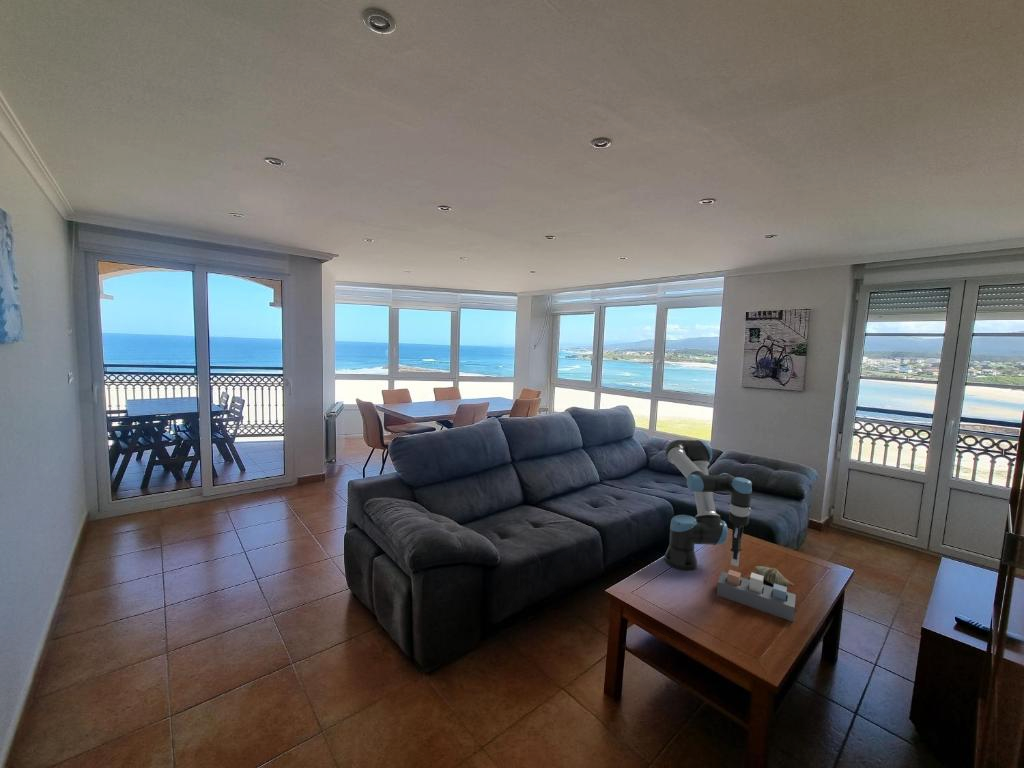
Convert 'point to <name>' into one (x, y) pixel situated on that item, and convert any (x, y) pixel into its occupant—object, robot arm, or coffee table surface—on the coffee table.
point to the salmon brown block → (734, 577)
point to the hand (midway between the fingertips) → (734, 564)
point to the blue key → (779, 592)
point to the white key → (756, 582)
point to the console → (757, 597)
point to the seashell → (772, 576)
